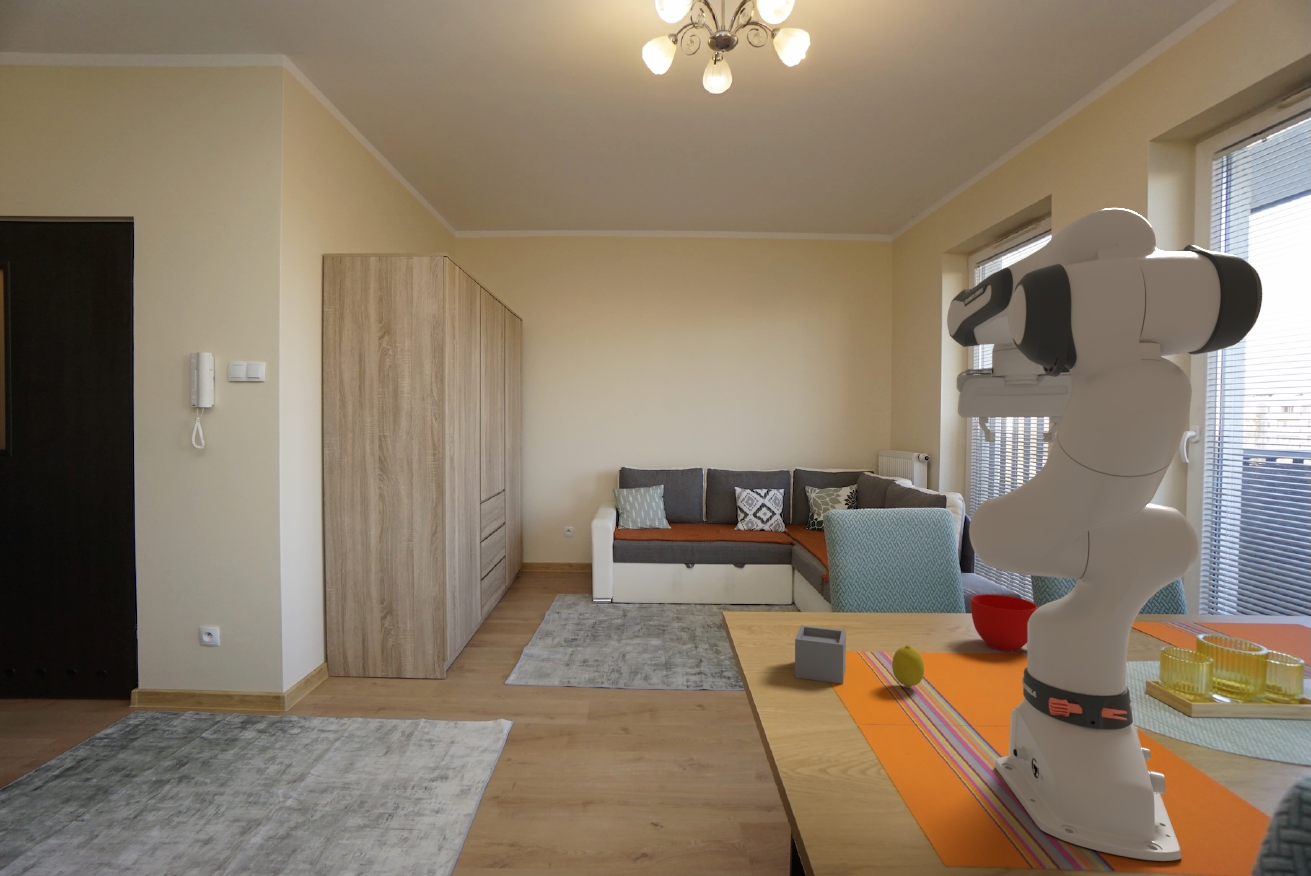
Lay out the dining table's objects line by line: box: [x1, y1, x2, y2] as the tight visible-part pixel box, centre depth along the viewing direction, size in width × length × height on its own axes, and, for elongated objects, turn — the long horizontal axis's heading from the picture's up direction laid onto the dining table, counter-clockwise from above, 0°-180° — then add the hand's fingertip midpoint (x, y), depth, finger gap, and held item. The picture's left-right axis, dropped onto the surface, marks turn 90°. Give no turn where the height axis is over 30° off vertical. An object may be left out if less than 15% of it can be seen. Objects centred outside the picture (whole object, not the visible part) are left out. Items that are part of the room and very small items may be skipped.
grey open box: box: [794, 625, 847, 685], centre depth 120 cm, size 9×9×8 cm
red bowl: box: [970, 594, 1038, 652], centre depth 134 cm, size 13×17×10 cm
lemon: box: [891, 645, 925, 689], centre depth 112 cm, size 6×6×8 cm
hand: (1019, 442), depth 111 cm, fingers open, 8 cm apart
